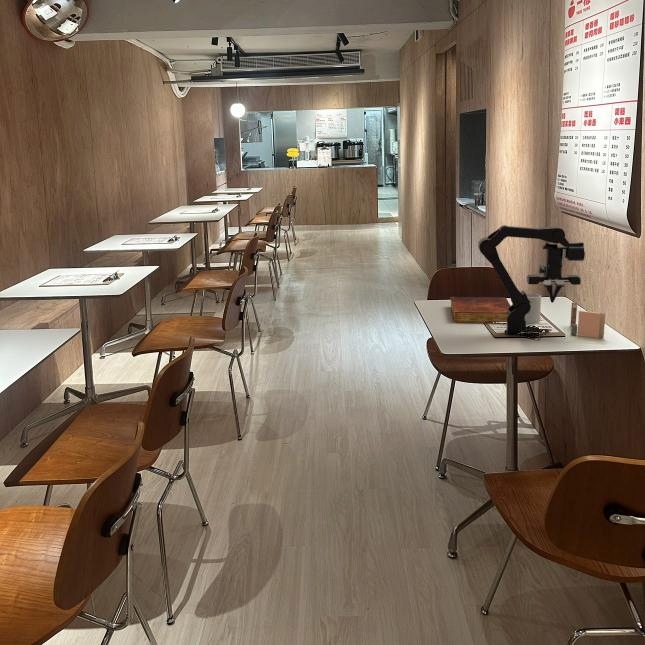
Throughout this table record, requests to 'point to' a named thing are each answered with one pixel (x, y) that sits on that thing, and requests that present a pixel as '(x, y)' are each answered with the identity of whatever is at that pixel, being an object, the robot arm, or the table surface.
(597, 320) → the block
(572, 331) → the fence frame
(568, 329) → the card
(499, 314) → the book
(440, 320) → the table surface
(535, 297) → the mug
